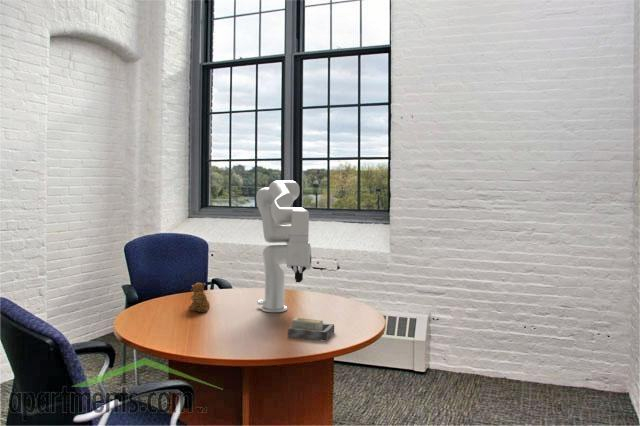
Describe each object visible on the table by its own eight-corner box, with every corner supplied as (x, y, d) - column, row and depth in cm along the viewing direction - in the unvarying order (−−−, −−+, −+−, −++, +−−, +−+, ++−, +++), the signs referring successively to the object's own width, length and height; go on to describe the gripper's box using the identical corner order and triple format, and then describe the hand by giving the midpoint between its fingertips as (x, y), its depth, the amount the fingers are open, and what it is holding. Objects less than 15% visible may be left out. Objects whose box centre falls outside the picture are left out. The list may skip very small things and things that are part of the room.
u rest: (287, 336, 210) (287, 328, 209) (298, 328, 221) (298, 320, 221) (325, 341, 205) (325, 332, 205) (334, 332, 216) (334, 324, 216)
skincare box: (295, 331, 217) (322, 335, 213) (291, 334, 213) (319, 338, 209) (296, 316, 217) (323, 320, 212) (291, 318, 213) (319, 322, 208)
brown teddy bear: (208, 306, 259) (207, 280, 258) (213, 313, 246) (213, 285, 245) (187, 307, 255) (187, 281, 254) (192, 314, 242) (191, 287, 241)
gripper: (279, 238, 217) (278, 281, 219) (313, 241, 212) (312, 285, 214) (286, 236, 224) (285, 278, 226) (319, 238, 219) (318, 281, 221)
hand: (298, 281), depth 220 cm, fingers closed
